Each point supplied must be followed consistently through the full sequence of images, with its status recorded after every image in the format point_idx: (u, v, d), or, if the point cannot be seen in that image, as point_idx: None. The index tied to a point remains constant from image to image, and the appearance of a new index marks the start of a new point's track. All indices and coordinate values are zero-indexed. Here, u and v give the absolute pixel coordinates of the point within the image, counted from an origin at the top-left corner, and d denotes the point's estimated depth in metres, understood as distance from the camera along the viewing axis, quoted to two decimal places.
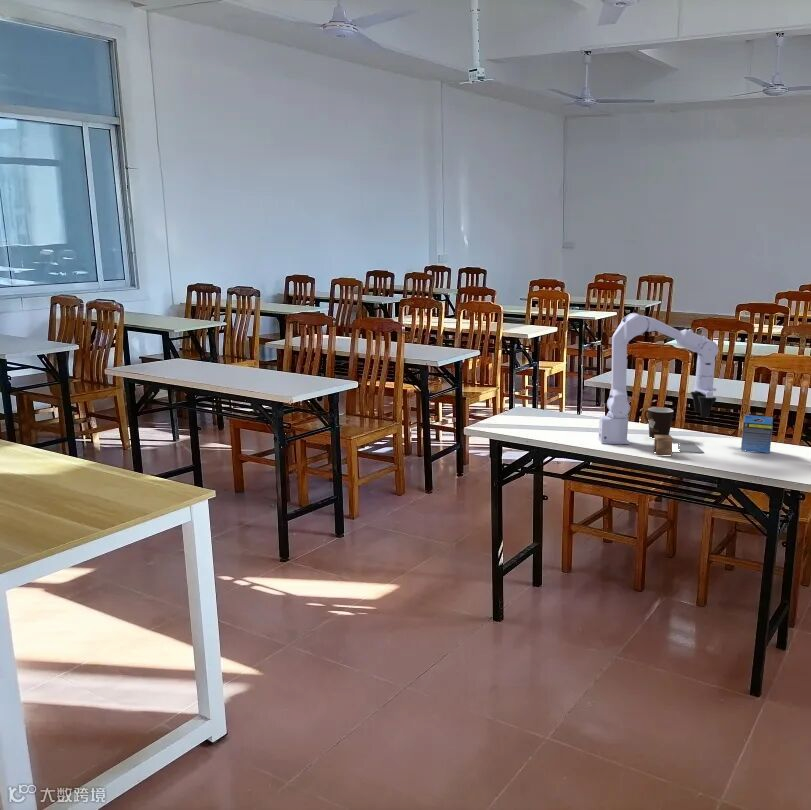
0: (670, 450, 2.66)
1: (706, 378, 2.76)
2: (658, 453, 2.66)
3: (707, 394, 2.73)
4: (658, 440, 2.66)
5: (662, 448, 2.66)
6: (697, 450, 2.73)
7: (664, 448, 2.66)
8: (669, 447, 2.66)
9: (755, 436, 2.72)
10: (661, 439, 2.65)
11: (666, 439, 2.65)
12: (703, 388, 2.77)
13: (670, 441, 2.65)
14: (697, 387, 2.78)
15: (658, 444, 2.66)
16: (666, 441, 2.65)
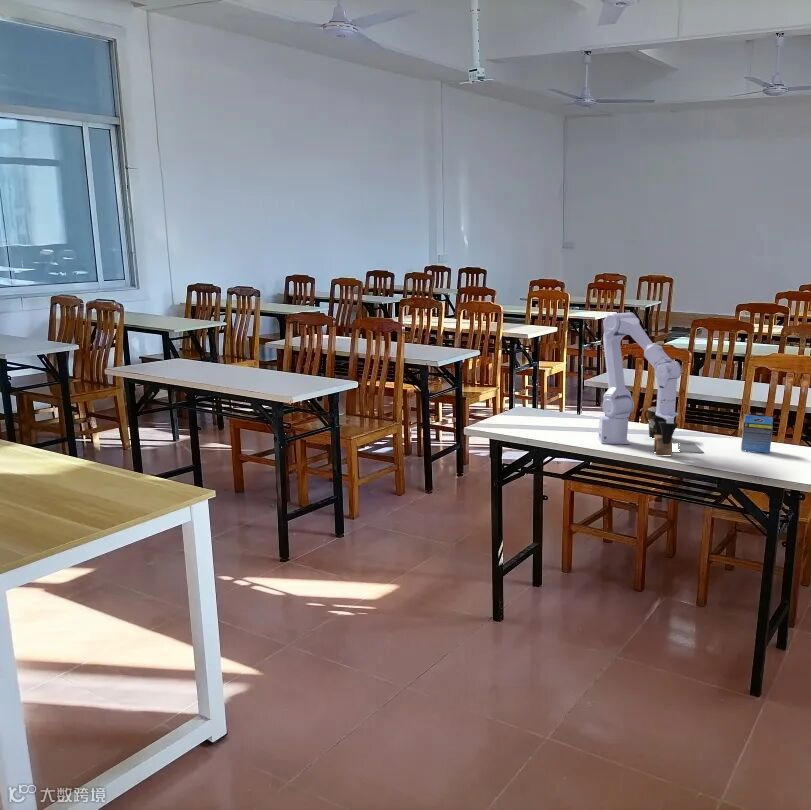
0: (670, 450, 2.66)
1: (667, 402, 2.62)
2: (658, 453, 2.66)
3: (668, 420, 2.59)
4: (658, 440, 2.66)
5: (662, 448, 2.66)
6: (697, 450, 2.73)
7: (664, 448, 2.66)
8: (669, 447, 2.66)
9: (755, 436, 2.72)
10: (661, 439, 2.65)
11: None
12: (664, 413, 2.63)
13: None
14: (658, 412, 2.65)
15: (658, 444, 2.66)
16: None
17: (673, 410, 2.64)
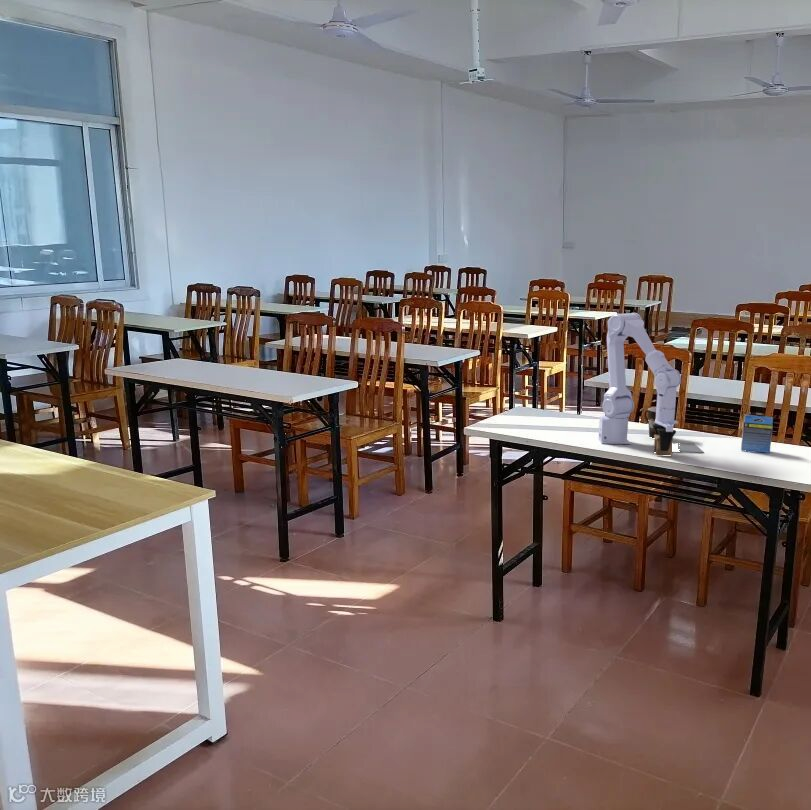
0: (670, 450, 2.66)
1: (667, 411, 2.63)
2: (658, 453, 2.66)
3: (667, 428, 2.60)
4: (658, 440, 2.66)
5: None
6: (697, 450, 2.73)
7: None
8: (669, 447, 2.66)
9: (755, 436, 2.72)
10: None
11: None
12: (664, 421, 2.64)
13: None
14: (657, 420, 2.65)
15: (658, 444, 2.66)
16: None
17: (672, 418, 2.64)
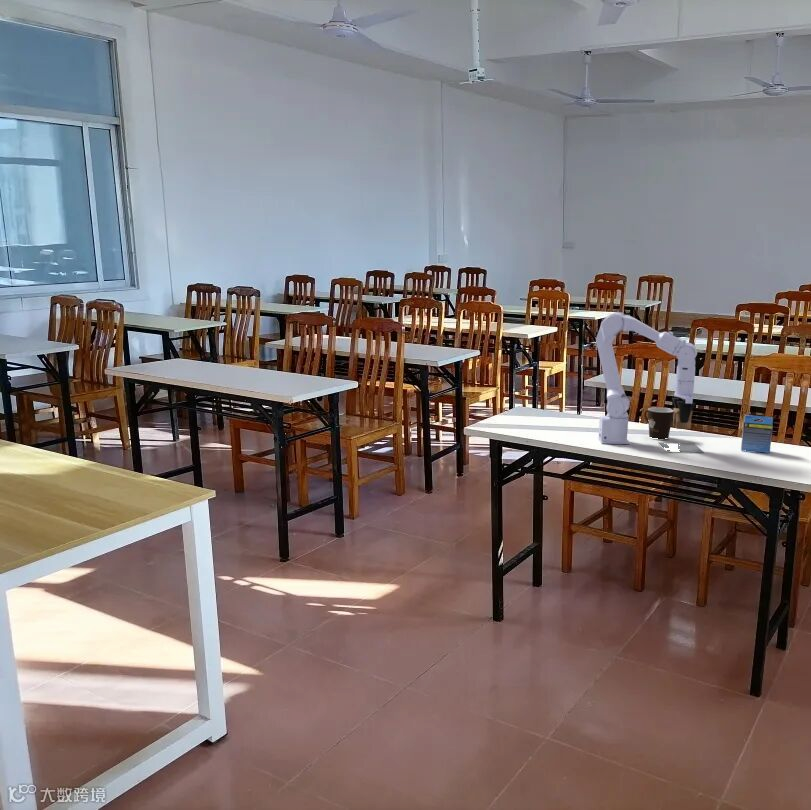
0: (689, 423, 2.72)
1: (686, 383, 2.69)
2: (678, 426, 2.73)
3: (687, 400, 2.66)
4: (678, 413, 2.72)
5: None
6: (697, 450, 2.73)
7: None
8: (689, 420, 2.72)
9: (755, 436, 2.72)
10: None
11: None
12: (683, 393, 2.70)
13: None
14: (677, 392, 2.72)
15: (678, 417, 2.72)
16: None
17: (692, 391, 2.70)
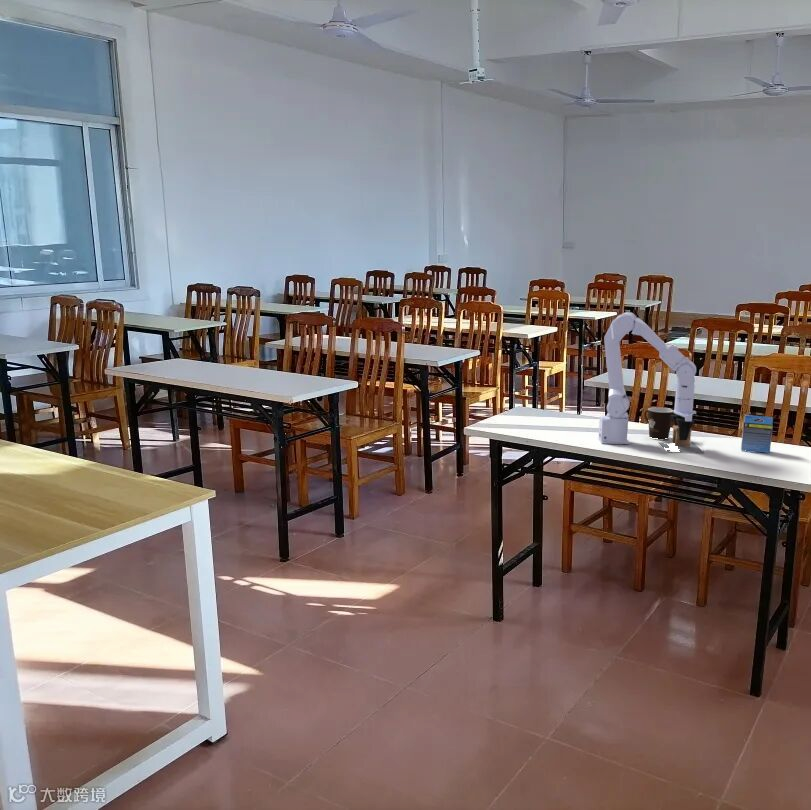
0: (689, 440, 2.74)
1: (685, 401, 2.71)
2: (677, 443, 2.74)
3: (686, 418, 2.68)
4: (677, 430, 2.74)
5: None
6: (697, 450, 2.73)
7: None
8: (688, 437, 2.74)
9: (755, 436, 2.72)
10: None
11: None
12: (682, 411, 2.72)
13: None
14: (676, 410, 2.73)
15: (677, 434, 2.74)
16: None
17: (691, 408, 2.72)
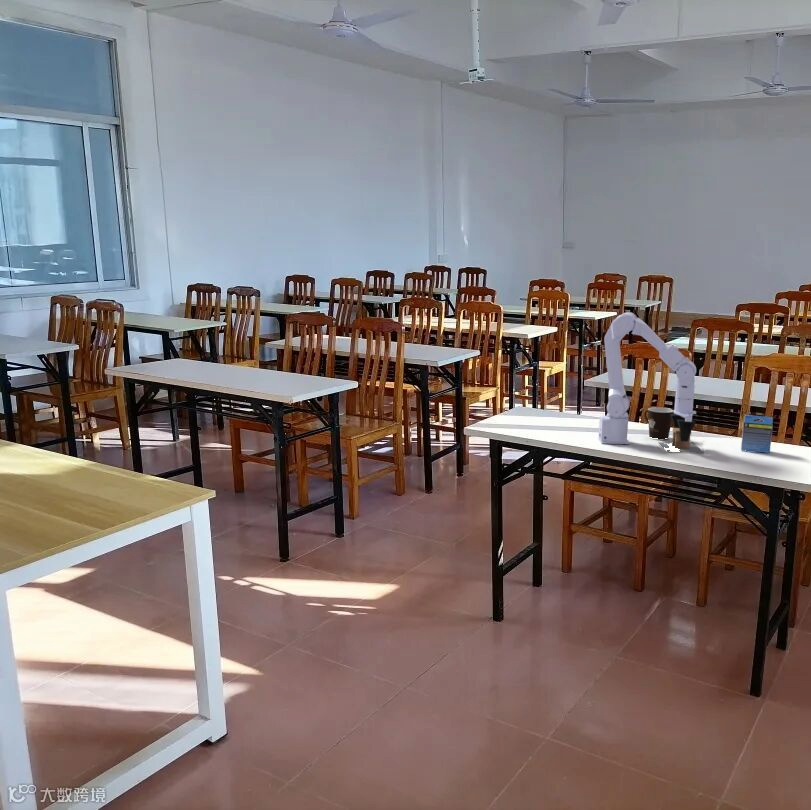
0: (688, 443, 2.74)
1: (685, 401, 2.71)
2: (677, 446, 2.75)
3: (686, 418, 2.68)
4: (677, 433, 2.74)
5: (680, 441, 2.74)
6: (697, 450, 2.73)
7: (682, 441, 2.74)
8: (688, 440, 2.74)
9: (755, 436, 2.72)
10: None
11: None
12: (682, 411, 2.72)
13: None
14: (676, 410, 2.73)
15: (677, 437, 2.74)
16: None
17: (691, 409, 2.72)
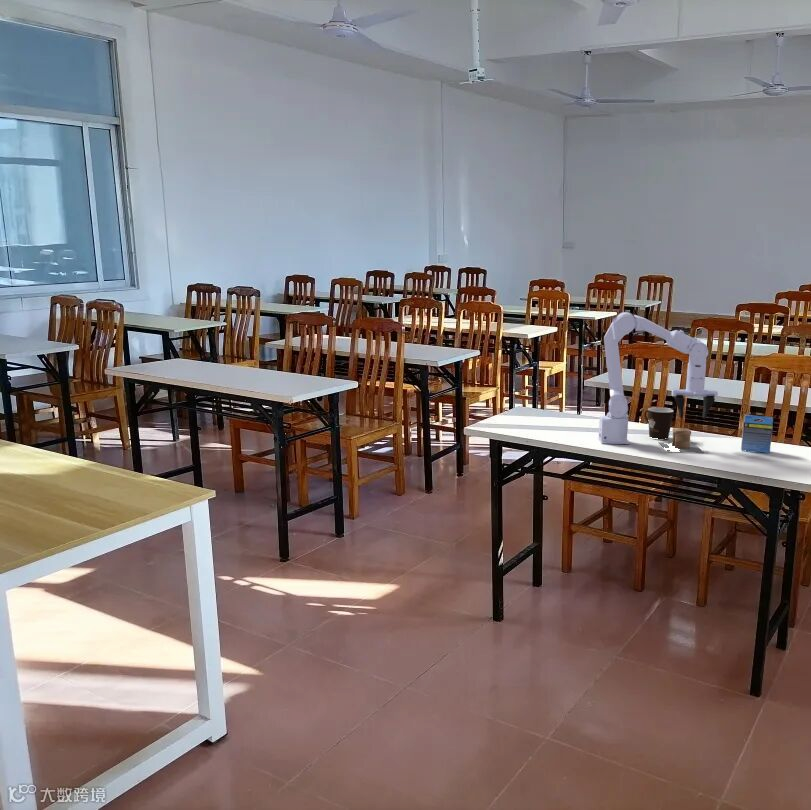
0: (688, 443, 2.74)
1: None
2: (677, 446, 2.75)
3: (672, 392, 2.77)
4: (677, 433, 2.74)
5: (680, 441, 2.74)
6: (697, 450, 2.73)
7: (682, 441, 2.74)
8: (688, 440, 2.74)
9: (755, 436, 2.72)
10: (680, 432, 2.74)
11: (684, 432, 2.74)
12: None
13: (688, 434, 2.74)
14: None
15: (677, 437, 2.74)
16: (684, 434, 2.74)
17: (690, 387, 2.74)
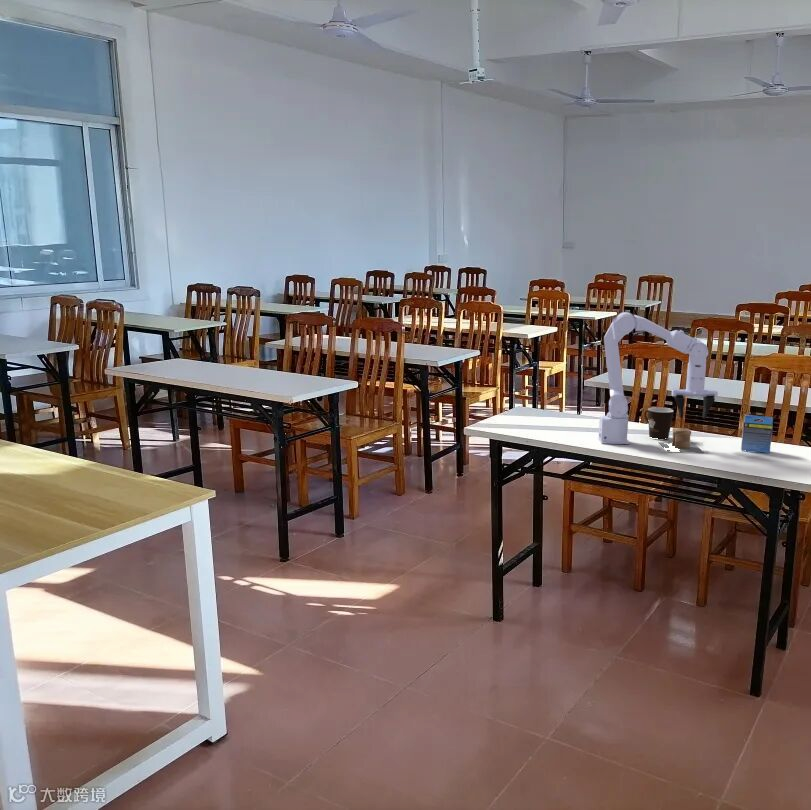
0: (688, 443, 2.74)
1: None
2: (677, 446, 2.75)
3: (672, 392, 2.77)
4: (677, 433, 2.74)
5: (680, 441, 2.74)
6: (697, 450, 2.73)
7: (682, 441, 2.74)
8: (688, 440, 2.74)
9: (755, 436, 2.72)
10: (680, 432, 2.74)
11: (684, 432, 2.74)
12: None
13: (688, 434, 2.74)
14: None
15: (677, 437, 2.74)
16: (684, 434, 2.74)
17: (690, 387, 2.74)
